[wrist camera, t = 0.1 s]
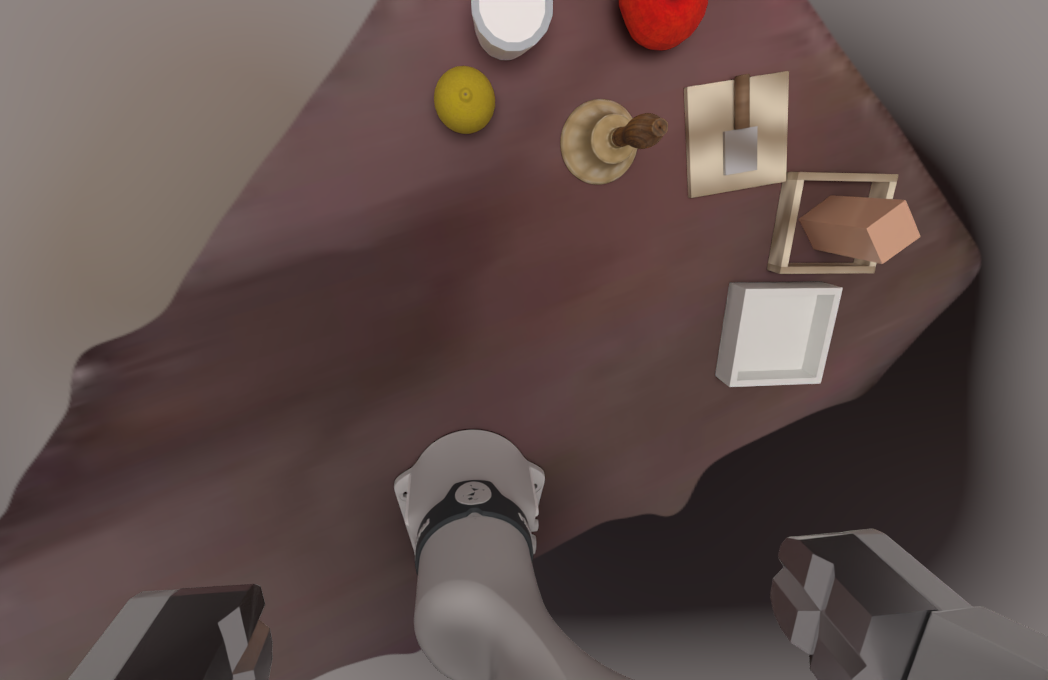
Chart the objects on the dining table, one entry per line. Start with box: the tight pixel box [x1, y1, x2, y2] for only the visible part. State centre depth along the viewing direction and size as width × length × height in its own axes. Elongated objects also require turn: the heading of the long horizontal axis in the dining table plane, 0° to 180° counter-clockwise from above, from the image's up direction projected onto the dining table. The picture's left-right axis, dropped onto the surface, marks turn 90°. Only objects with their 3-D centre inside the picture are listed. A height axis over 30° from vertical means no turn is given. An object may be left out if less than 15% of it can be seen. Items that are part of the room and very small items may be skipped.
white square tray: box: [715, 282, 843, 387], centre depth 60 cm, size 12×12×4 cm
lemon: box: [434, 66, 495, 134], centre depth 45 cm, size 6×6×8 cm
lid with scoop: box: [684, 71, 789, 198], centre depth 52 cm, size 11×11×2 cm
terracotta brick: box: [799, 195, 920, 264], centre depth 53 cm, size 4×4×10 cm
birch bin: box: [767, 172, 899, 274], centre depth 56 cm, size 11×12×2 cm
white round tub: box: [471, 0, 553, 60], centre depth 44 cm, size 7×7×7 cm
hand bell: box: [560, 99, 668, 184], centre depth 44 cm, size 8×8×16 cm
